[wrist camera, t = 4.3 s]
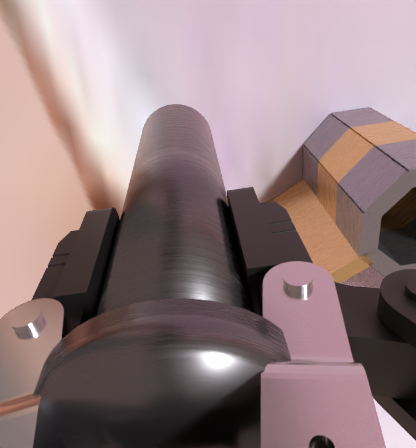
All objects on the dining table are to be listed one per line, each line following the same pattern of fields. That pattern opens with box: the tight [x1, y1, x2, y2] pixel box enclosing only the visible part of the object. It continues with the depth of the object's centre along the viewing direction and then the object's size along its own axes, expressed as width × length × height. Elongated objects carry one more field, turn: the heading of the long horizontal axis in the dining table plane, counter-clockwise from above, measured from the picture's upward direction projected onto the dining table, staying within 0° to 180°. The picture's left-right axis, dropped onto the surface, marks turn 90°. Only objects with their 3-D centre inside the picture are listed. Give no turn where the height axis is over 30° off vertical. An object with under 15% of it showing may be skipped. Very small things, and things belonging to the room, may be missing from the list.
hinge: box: [270, 108, 416, 284], centre depth 25 cm, size 10×23×10 cm, turn 98°
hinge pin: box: [33, 104, 291, 448], centre depth 11 cm, size 4×4×14 cm
